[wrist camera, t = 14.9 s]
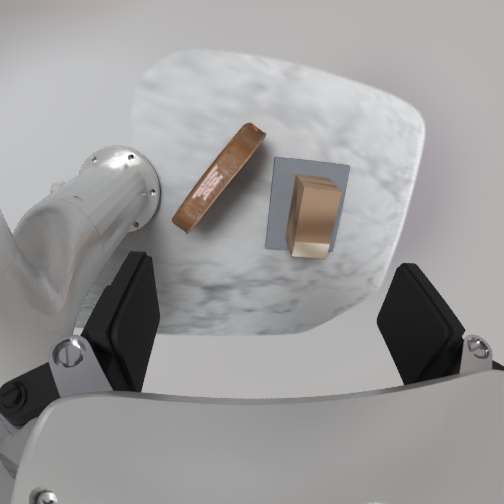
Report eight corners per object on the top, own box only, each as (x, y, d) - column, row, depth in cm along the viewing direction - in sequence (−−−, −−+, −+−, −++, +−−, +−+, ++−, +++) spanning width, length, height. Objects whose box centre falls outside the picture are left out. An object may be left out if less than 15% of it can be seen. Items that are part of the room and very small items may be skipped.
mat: (265, 246, 42) (265, 248, 42) (274, 156, 36) (275, 157, 35) (331, 249, 43) (332, 251, 42) (348, 165, 36) (350, 166, 36)
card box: (295, 173, 36) (304, 187, 31) (328, 178, 37) (342, 192, 32) (285, 236, 41) (291, 257, 36) (316, 238, 41) (326, 260, 36)
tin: (194, 217, 40) (184, 248, 32) (176, 205, 39) (161, 233, 31) (265, 131, 34) (272, 141, 27) (245, 115, 33) (247, 121, 26)
